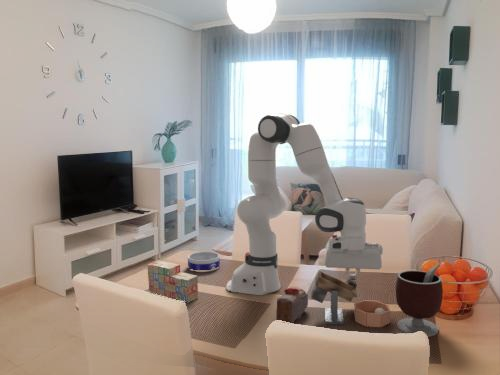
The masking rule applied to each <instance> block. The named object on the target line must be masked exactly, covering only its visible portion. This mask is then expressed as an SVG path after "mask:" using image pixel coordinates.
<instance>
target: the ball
mask: <svg viewBox="0 0 500 375" xmlns="http://www.w3.org/2000/svg"><path fill="white" fill-rule="evenodd" d="M382 312H385V310H384V309H382V308H377V309H376V310H375V313H382Z"/></svg>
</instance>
